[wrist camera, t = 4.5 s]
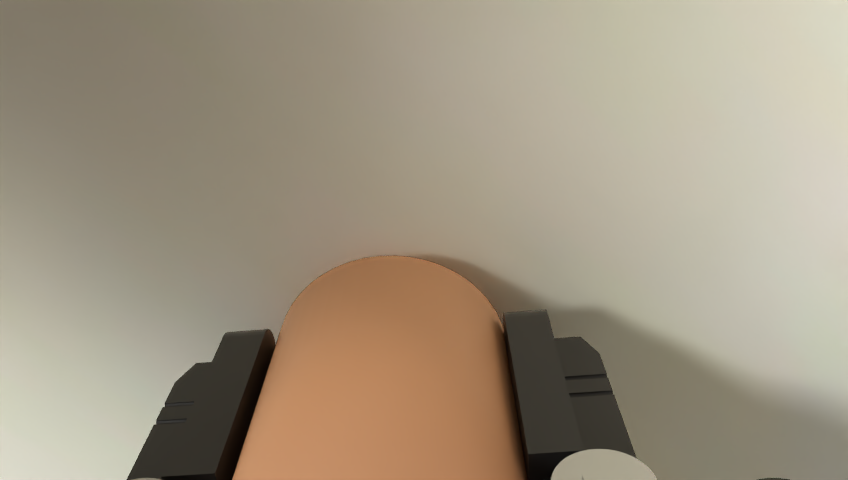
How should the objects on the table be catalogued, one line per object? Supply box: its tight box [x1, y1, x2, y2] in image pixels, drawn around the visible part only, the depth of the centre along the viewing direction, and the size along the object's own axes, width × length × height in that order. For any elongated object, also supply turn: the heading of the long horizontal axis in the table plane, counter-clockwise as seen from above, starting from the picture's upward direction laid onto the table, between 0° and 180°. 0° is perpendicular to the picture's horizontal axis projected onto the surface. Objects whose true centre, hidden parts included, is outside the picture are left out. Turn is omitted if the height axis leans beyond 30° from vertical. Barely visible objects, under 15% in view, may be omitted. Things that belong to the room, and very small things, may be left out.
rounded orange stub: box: [232, 256, 528, 480], centre depth 11 cm, size 4×4×6 cm
